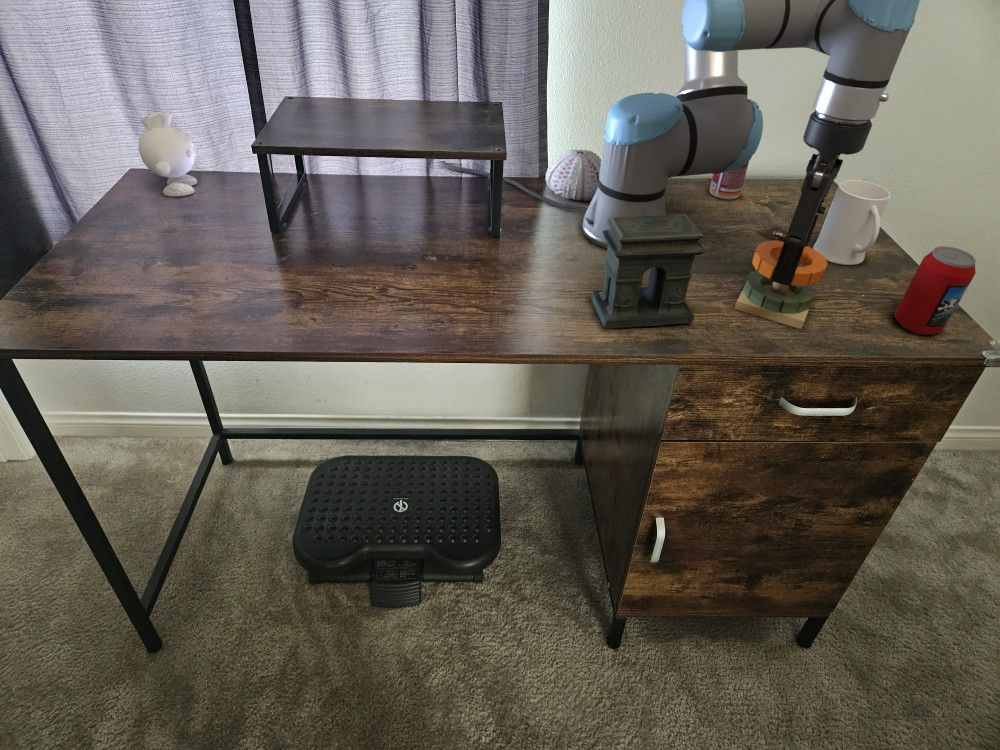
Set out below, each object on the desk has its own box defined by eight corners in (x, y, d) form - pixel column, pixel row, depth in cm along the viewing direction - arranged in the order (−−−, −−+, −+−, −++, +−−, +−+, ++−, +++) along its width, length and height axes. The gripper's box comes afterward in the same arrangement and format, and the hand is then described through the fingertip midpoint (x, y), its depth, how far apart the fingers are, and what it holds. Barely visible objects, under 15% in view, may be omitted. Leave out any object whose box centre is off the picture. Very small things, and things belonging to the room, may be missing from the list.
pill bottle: (745, 194, 134) (760, 141, 127) (729, 203, 130) (744, 148, 123) (718, 185, 137) (732, 132, 130) (702, 193, 133) (715, 139, 126)
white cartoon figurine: (200, 206, 121) (178, 125, 112) (145, 209, 119) (118, 128, 110) (209, 174, 132) (190, 98, 123) (159, 176, 131) (135, 100, 121)
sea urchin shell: (609, 180, 137) (614, 142, 132) (609, 207, 127) (616, 168, 121) (546, 175, 138) (549, 137, 133) (542, 202, 128) (545, 162, 122)
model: (671, 293, 103) (692, 205, 94) (693, 326, 96) (718, 234, 87) (588, 298, 101) (600, 209, 92) (604, 332, 94) (620, 239, 85)
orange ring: (745, 272, 96) (749, 261, 95) (761, 245, 103) (764, 234, 102) (815, 292, 92) (820, 280, 91) (827, 263, 99) (831, 251, 98)
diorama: (782, 243, 118) (785, 232, 116) (765, 234, 120) (769, 224, 119) (792, 239, 119) (796, 228, 118) (776, 230, 121) (780, 220, 120)
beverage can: (939, 343, 95) (981, 272, 87) (889, 328, 98) (925, 258, 90) (942, 322, 100) (982, 252, 92) (895, 307, 102) (930, 239, 94)
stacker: (734, 309, 100) (749, 260, 95) (749, 280, 107) (765, 234, 102) (801, 329, 97) (820, 280, 91) (812, 298, 103) (831, 251, 98)
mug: (879, 276, 110) (910, 210, 102) (829, 274, 110) (856, 208, 102) (852, 242, 119) (879, 180, 111) (806, 240, 119) (829, 177, 111)
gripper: (863, 147, 74) (799, 309, 88) (882, 99, 90) (826, 243, 104) (795, 134, 77) (744, 293, 91) (826, 89, 92) (778, 231, 107)
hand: (788, 267), depth 98 cm, fingers closed on orange ring, 10 cm apart
